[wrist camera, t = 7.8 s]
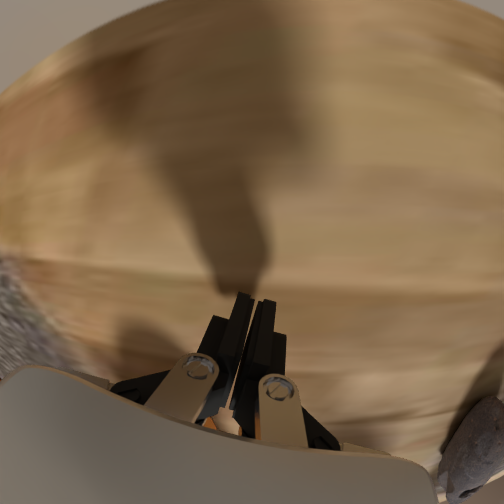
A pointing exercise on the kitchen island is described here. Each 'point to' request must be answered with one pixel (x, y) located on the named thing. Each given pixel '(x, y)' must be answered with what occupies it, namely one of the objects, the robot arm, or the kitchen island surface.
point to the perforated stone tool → (473, 451)
